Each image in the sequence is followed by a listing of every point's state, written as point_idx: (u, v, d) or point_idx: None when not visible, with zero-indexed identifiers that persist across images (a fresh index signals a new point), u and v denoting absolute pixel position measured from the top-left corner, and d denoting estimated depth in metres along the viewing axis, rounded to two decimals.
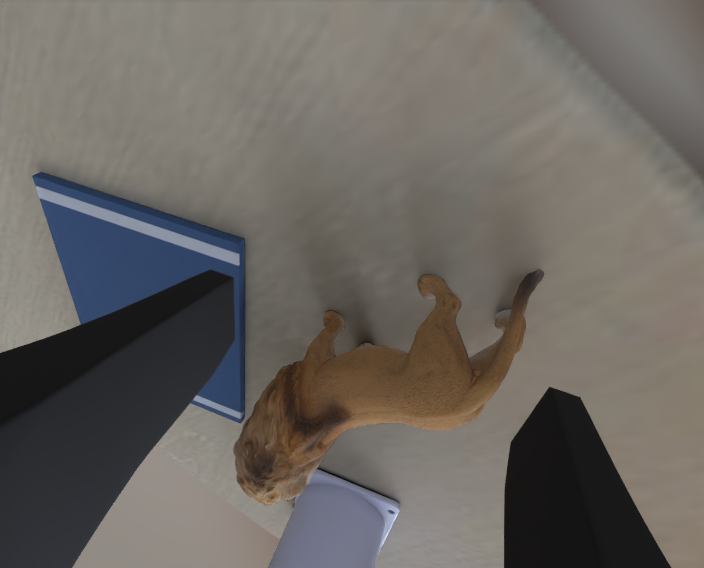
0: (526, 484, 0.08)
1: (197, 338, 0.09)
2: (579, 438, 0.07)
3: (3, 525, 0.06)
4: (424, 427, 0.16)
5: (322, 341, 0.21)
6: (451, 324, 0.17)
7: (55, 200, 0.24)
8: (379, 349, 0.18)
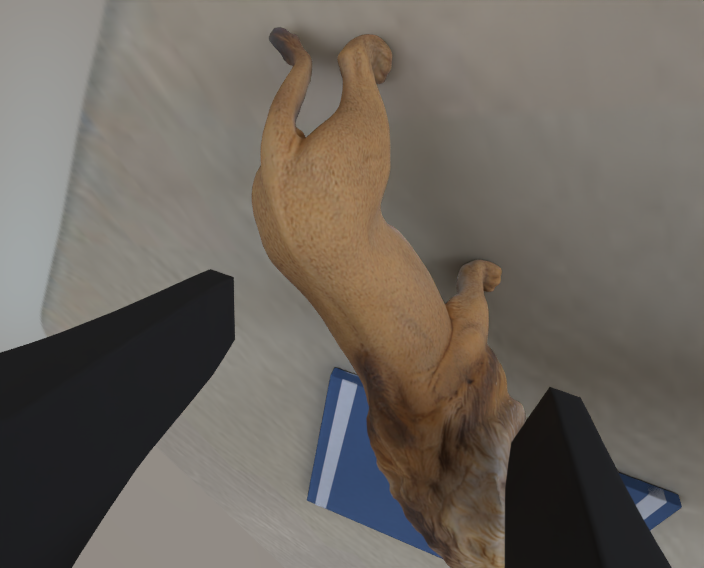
0: (527, 484, 0.08)
1: (197, 338, 0.09)
2: (579, 438, 0.07)
3: (2, 525, 0.06)
4: (324, 247, 0.09)
5: None
6: None
7: (325, 499, 0.27)
8: None
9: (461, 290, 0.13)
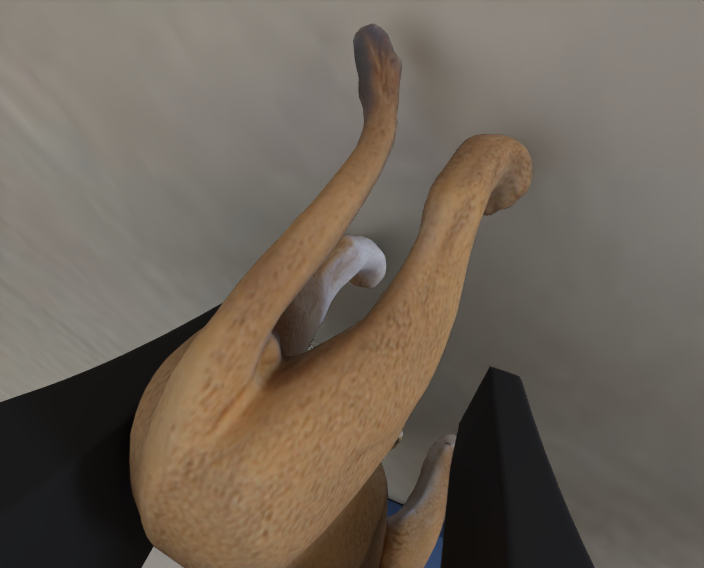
0: (464, 460, 0.08)
1: None
2: (508, 412, 0.07)
3: (73, 560, 0.06)
4: None
5: None
6: None
7: None
8: None
9: (421, 500, 0.10)
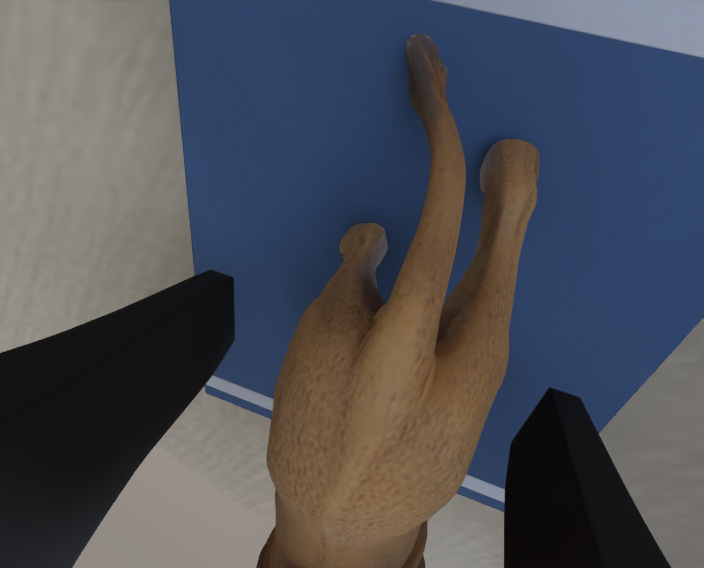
0: (526, 484, 0.08)
1: (197, 338, 0.09)
2: (579, 438, 0.07)
3: (3, 525, 0.06)
4: (376, 534, 0.05)
5: None
6: (348, 271, 0.08)
7: None
8: None
9: None
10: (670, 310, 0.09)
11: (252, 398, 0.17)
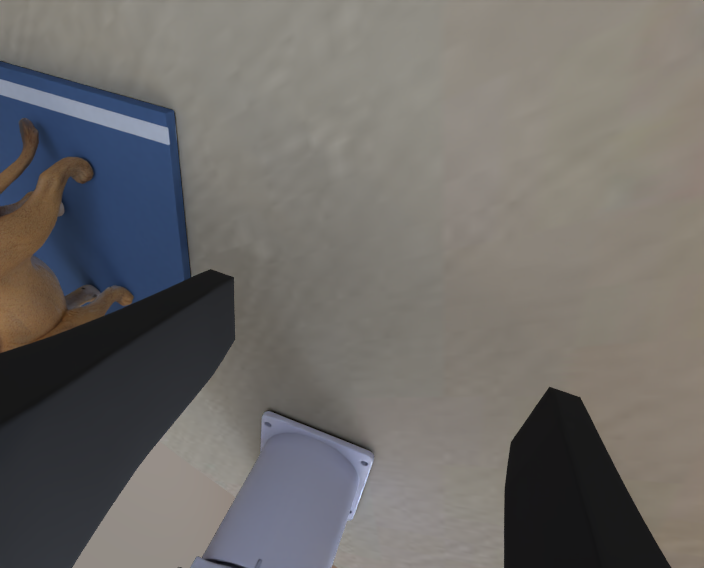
0: (526, 484, 0.08)
1: (197, 338, 0.09)
2: (579, 438, 0.07)
3: (3, 525, 0.06)
4: None
5: None
6: None
7: None
8: None
9: (88, 304, 0.24)
10: (167, 229, 0.22)
11: None
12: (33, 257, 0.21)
